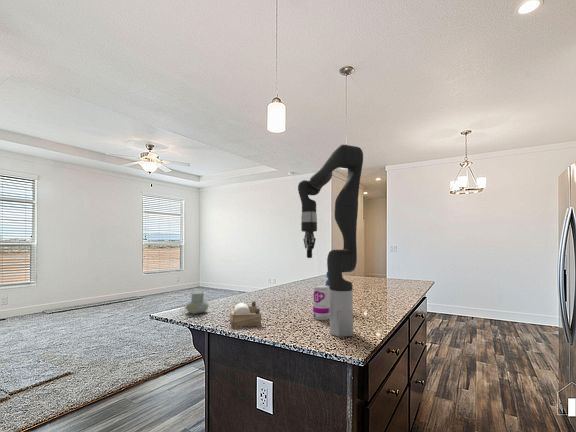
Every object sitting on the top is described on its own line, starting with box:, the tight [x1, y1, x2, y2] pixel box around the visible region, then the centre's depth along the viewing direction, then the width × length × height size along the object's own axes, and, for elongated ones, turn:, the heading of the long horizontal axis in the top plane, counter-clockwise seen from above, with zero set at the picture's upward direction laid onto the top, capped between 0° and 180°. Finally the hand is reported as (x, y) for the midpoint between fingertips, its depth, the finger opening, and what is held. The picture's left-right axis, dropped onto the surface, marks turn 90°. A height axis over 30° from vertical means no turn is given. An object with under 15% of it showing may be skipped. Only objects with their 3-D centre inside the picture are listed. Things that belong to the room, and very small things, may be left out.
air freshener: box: [185, 291, 209, 315], centre depth 161 cm, size 11×8×10 cm
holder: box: [229, 301, 262, 328], centre depth 144 cm, size 18×13×7 cm
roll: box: [234, 302, 251, 314], centre depth 143 cm, size 12×7×7 cm
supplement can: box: [312, 284, 330, 321], centre depth 150 cm, size 8×8×15 cm
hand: (309, 257), depth 149 cm, fingers closed
